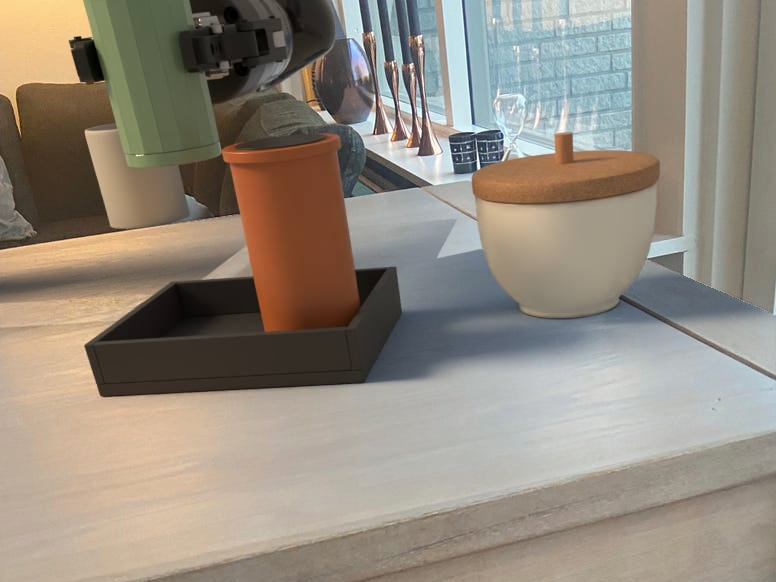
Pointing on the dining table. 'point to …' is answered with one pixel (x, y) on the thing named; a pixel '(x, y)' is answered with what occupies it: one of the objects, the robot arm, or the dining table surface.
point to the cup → (153, 82)
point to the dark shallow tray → (237, 340)
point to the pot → (296, 230)
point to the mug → (134, 184)
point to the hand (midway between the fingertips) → (136, 57)
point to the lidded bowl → (567, 226)
